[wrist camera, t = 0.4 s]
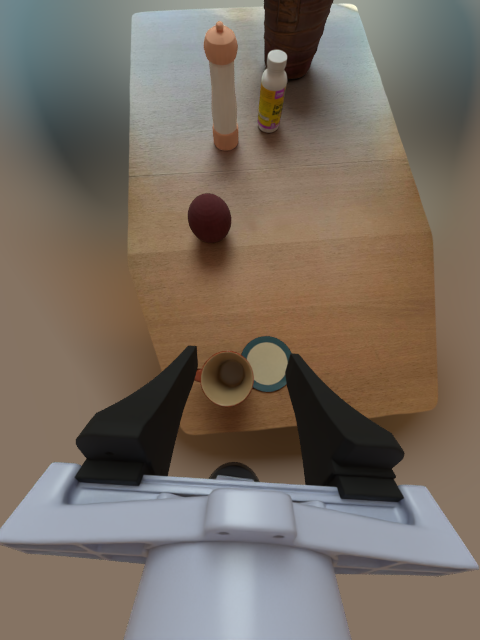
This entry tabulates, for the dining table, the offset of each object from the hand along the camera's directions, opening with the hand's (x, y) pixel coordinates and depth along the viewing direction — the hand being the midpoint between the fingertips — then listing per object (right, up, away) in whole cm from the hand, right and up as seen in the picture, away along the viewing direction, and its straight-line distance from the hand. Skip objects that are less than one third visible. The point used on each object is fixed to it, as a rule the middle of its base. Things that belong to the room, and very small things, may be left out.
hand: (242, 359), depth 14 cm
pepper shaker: (-4, +57, +39) cm, 69 cm away
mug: (-3, -8, +25) cm, 27 cm away
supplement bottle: (+9, +63, +41) cm, 76 cm away
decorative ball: (-7, +25, +33) cm, 42 cm away
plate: (+6, -7, +26) cm, 27 cm away
